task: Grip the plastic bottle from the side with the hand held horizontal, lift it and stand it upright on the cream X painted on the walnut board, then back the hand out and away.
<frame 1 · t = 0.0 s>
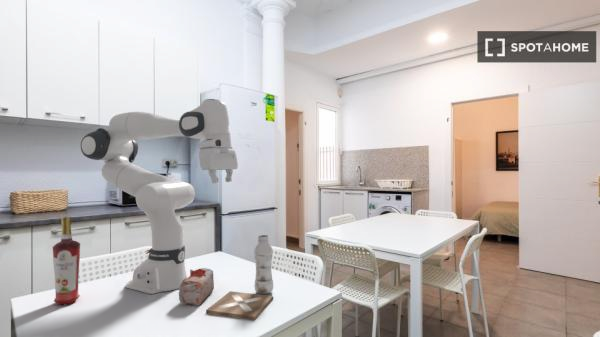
hand: (222, 182, 113), 39 cm above the table, tool pointing down, fingers open, 8 cm apart
liquor: (67, 302, 105), on the table
plastic bottle: (263, 293, 111), on the table
food item: (197, 299, 107), on the table
brown board with cross: (241, 305, 101), on the table
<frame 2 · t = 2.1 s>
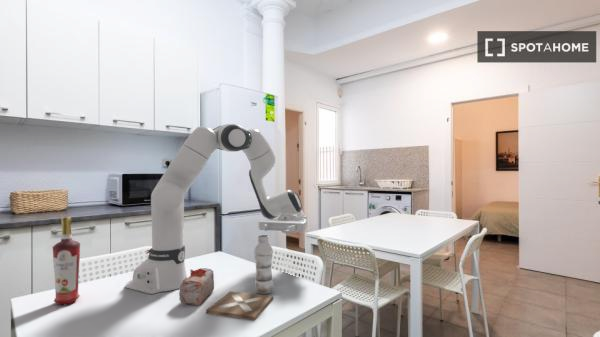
hand: (276, 229, 124), 20 cm above the table, tool horizontal, fingers open, 8 cm apart
nothing on the table moved.
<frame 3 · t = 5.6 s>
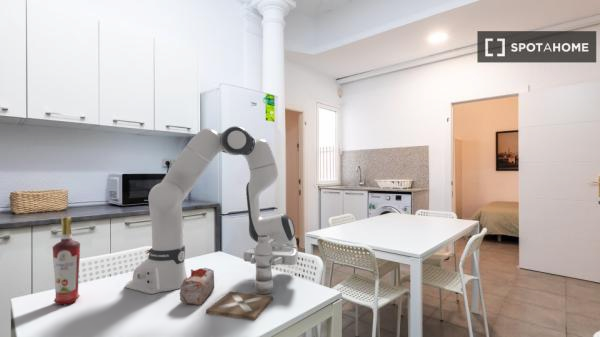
hand: (262, 262, 110), 11 cm above the table, tool horizontal, fingers closed on plastic bottle, 6 cm apart
plastic bottle: (263, 293, 111), on the table, touching gripper
everything else where it was.
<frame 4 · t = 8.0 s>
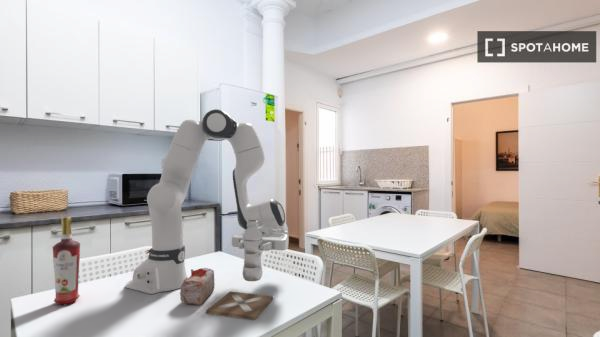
hand: (251, 247, 105), 18 cm above the table, tool horizontal, fingers closed on plastic bottle, 6 cm apart
plastic bottle: (252, 280, 106), point 6 cm above the table, touching gripper
everything else where it was.
when the fingers open (13 cm above the table, at t = 10.1 s): plastic bottle stays where it is, resting on brown board with cross.
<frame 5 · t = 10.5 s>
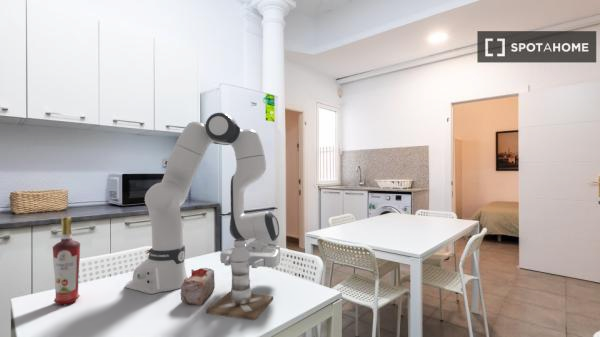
hand: (239, 264, 100), 13 cm above the table, tool horizontal, fingers open, 8 cm apart
plastic bottle: (241, 303, 101), point 1 cm above the table, touching brown board with cross
everything else where it was.
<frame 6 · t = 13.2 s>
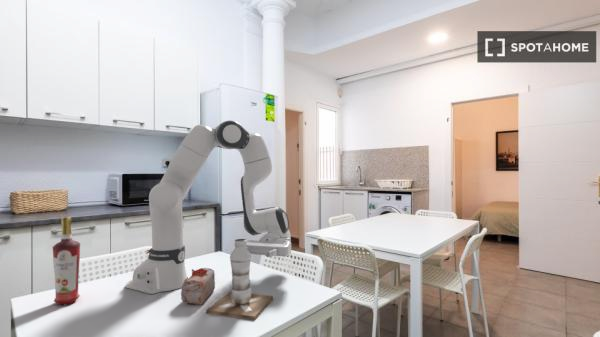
hand: (256, 253, 112), 14 cm above the table, tool horizontal, fingers open, 8 cm apart
nothing on the table moved.
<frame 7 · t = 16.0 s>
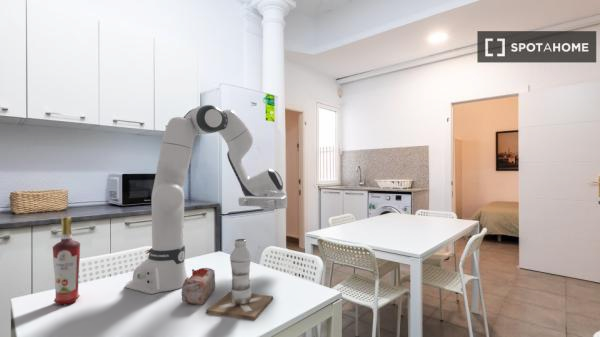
hand: (255, 203, 124), 30 cm above the table, tool horizontal, fingers open, 8 cm apart
nothing on the table moved.
at the end: plastic bottle 0.3 cm off-centre on the brown board with cross, point 0.8 cm above the brown board with cross's base; plastic bottle tilted 0°; the gripper is holding nothing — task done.
